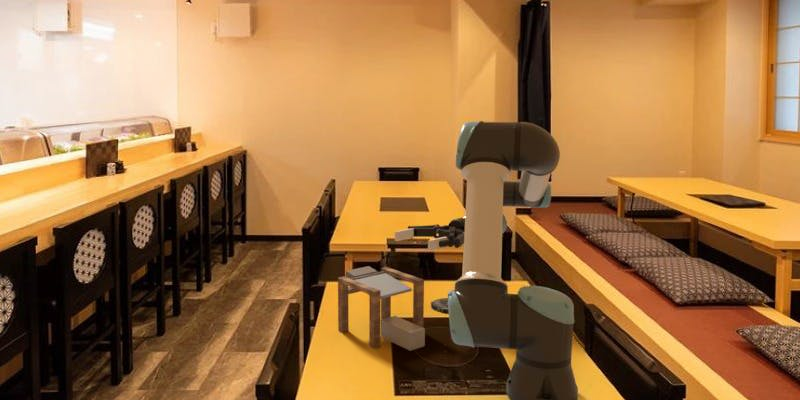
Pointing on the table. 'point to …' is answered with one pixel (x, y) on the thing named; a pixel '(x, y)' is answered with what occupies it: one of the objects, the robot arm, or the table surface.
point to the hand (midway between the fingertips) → (411, 240)
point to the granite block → (403, 333)
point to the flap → (378, 281)
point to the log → (440, 305)
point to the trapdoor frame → (378, 303)
